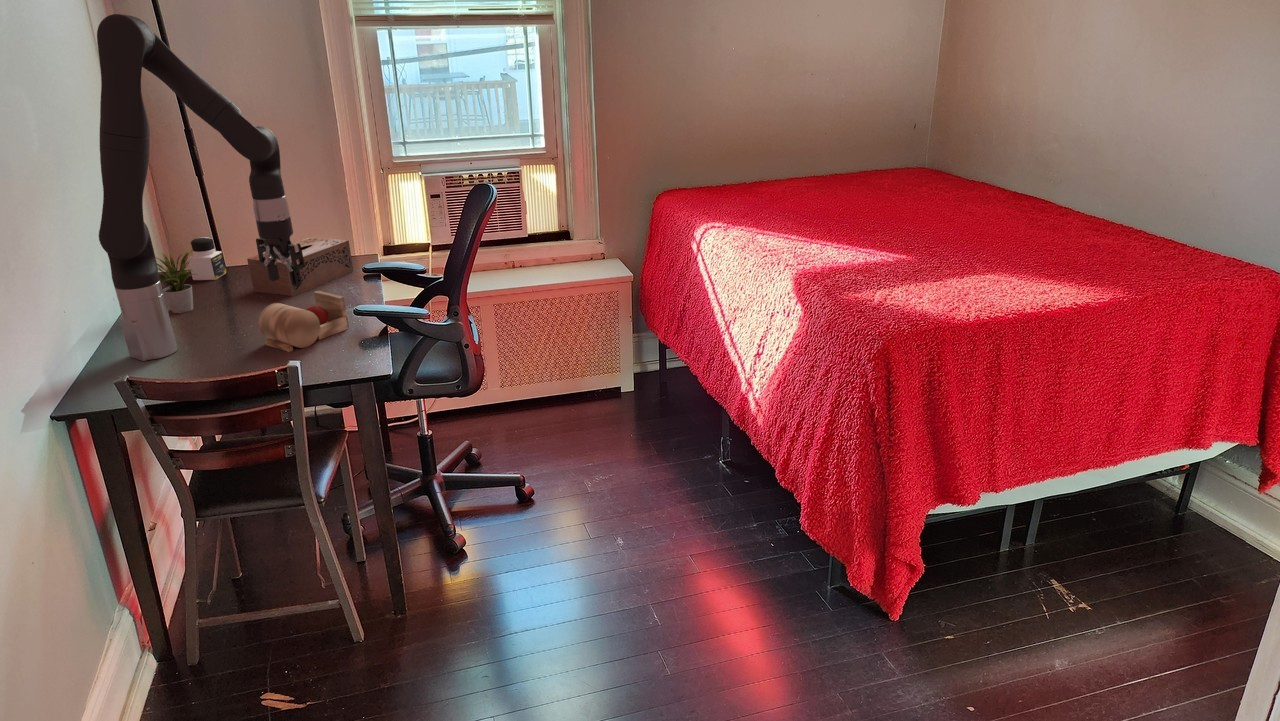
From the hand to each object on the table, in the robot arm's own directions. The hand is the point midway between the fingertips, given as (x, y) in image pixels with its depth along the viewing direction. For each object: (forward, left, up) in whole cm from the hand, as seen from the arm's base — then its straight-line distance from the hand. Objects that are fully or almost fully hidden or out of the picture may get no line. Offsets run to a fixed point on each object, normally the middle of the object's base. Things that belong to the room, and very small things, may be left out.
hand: (285, 283), depth 201 cm
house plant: (-2, +47, -14) cm, 49 cm away
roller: (-2, -2, -14) cm, 14 cm away
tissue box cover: (+32, +39, -15) cm, 52 cm away
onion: (+2, 0, -11) cm, 11 cm away
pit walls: (+6, 0, -14) cm, 16 cm away
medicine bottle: (+20, +69, -14) cm, 73 cm away
